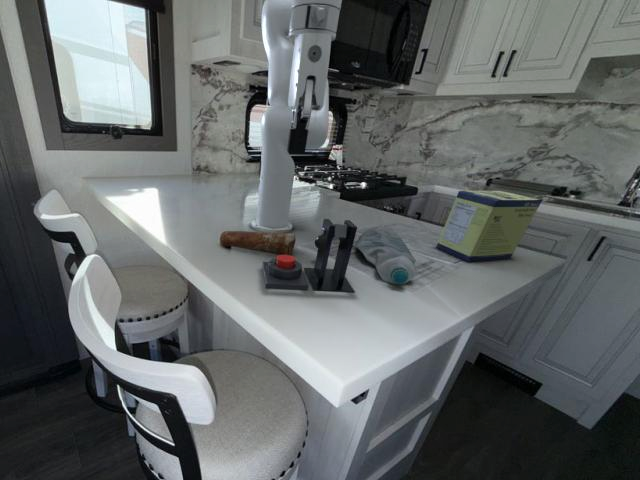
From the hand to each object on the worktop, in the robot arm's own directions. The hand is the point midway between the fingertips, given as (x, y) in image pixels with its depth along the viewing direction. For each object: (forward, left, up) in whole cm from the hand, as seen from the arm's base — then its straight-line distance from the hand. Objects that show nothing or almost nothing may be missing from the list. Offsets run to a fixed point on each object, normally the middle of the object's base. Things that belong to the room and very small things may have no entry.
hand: (295, 153), depth 58 cm
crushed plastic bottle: (0, +24, -23) cm, 33 cm away
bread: (-7, -6, -23) cm, 25 cm away
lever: (+6, +8, -16) cm, 19 cm away
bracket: (+9, +8, -23) cm, 26 cm away
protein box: (-14, +54, -23) cm, 61 cm away
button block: (+9, -1, -23) cm, 25 cm away
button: (+9, -1, -20) cm, 22 cm away
